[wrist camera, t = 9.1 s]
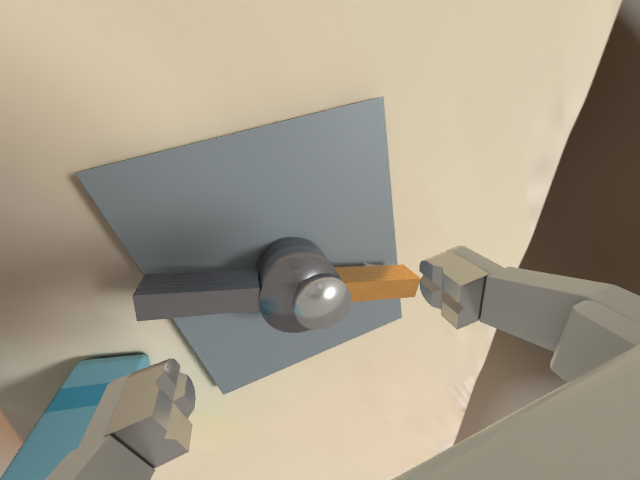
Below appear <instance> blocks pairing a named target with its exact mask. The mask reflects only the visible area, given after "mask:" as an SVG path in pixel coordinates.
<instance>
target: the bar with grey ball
mask: <svg viewBox="0 0 640 480" xmlns="http://www.w3.org/2000/svg"><path fill="white" fill-rule="evenodd" d="M420 279H421V278H419V277H418V276H417V275H416V274H414V273H413V272H412V271H411V270H409V269H408V268H407V267H406V266H404V265H382V266H354V267H333V265H332V264H331V263H330V261H329V260H328V259H327V257H326V256H325V254H324V253H323V252H322V250H321V249H320V248H319V247H318V246H317V245H316V244H315V243H314V242H312V241H310V240H308V239H305V238H299V237H291V238H285V239H282V240H279V241H277V242H275V243H273V244H272V245H270V246H269V247H268V248H267V249H266V250H264V252H263V253H262V254H261V256H260V257H259V259H258V261H257V264H256V267H255V270H242V271H214V272H185V273H157V274H145V276H144V277H143V279H142V281H141V282H140V284H139V286H138V287H137V289H136V291H135V293H134V294H133V300H134V306H135V312H136V318H137V321H145V320H156V319H168V318H179V317H190V316H202V315H213V314H225V313H236V312H247V311H259V305H260V311H261V314H262V316H263V318H264V320H265V321H266V322H267V323H268V324H269V325H270V326H271V327H273V328H275V329H277V330H279V331H283V332H288V333H300V332H305V331H309V330H311V329H313V330H320V329H325V328H328V327H331V326H333V325H335V324H336V323H338V322H339V321H340V320H341V319H343V317H344V316H345V315H346V314H347V312H348V310H349V308H350V305H351V302H361V301H373V300H384V299H395V298H407V297H415V294H416V291H417V288H418V285H419V282H420Z"/></svg>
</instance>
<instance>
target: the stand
mask: <svg viewBox="0 0 640 480" xmlns="http://www.w3.org/2000/svg"><path fill="white" fill-rule="evenodd" d="M75 174H76V176H77V177H78V179H79V180H80V181H81V183H82V184H83V186H84V187H85V189H86V190H87V192H88V193H89V195H90V196H91V198H92V199H93V201H94V202H95V204H96V205H97V207H98V208H99V210H100V211H101V213H102V214H103V216H104V217H105V219H106V220H107V222H108V223H109V225H110V226H111V228H112V229H113V231H114V232H115V234H116V235H117V237H118V238H119V240H120V241H121V243H122V244H123V246H124V247H125V249H126V250H127V252H128V253H129V255H130V256H131V258H132V259H133V261H134V262H135V263H136V265H137V266H138V268H139V269H140V271H141V272H142V274H143V275H144V276H145V274H157V273H185V272H214V271H242V270H255V267H256V264H257V261H258V259H259V257H260V256H261V254H262V253H263V252H264V250H266V249H267V248H268V247H269V246H270V245H272V244H273V243H275V242H277V241H279V240H282V239H285V238H291V237H299V238H305V239H308V240H310V241H312V242H314V243H315V244H316V245H317V246H318V247H319V248H320V249H321V250H322V252H323V253H324V254H325V256H326V257H327V259H328V260H329V261H330V263H331V264H332V265H333V267H354V266H382V265H397V255H396V243H395V231H394V219H393V207H392V195H391V183H390V171H389V159H388V146H387V134H386V122H385V110H384V98H383V97H378V98H373V99H369V100H365V101H361V102H357V103H353V104H349V105H345V106H341V107H337V108H333V109H329V110H325V111H321V112H317V113H313V114H309V115H305V116H301V117H297V118H293V119H289V120H285V121H281V122H277V123H273V124H269V125H265V126H260V127H256V128H252V129H248V130H244V131H240V132H236V133H232V134H228V135H224V136H220V137H216V138H212V139H208V140H204V141H200V142H196V143H192V144H188V145H184V146H180V147H176V148H172V149H168V150H164V151H160V152H156V153H152V154H148V155H144V156H140V157H136V158H132V159H128V160H124V161H119V162H115V163H111V164H107V165H103V166H99V167H95V168H91V169H87V170H84V171H81V172H77V173H75ZM399 318H402V315H401V303H400V298H395V299H384V300H373V301H361V302H351V305H350V308H349V310H348V312H347V314H346V315H345V316H344V317H343V319H341V320H340V321H339V322H338V323H336V324H335V325H333V326H331V327H328V328H325V329H320V330H313V329H311V330H309V331H305V332H300V333H288V332H283V331H279V330H277V329H275V328H273V327H271V326H270V325H269V324H268V323H267V322H266V321H265V320H264V318H263V316H262V314H261V311H260V305H259V311H247V312H236V313H225V314H213V315H202V316H190V317H179V318H172V319H173V320H174V322H175V323H176V325H177V326H178V328H179V329H180V331H181V332H182V334H183V335H184V337H185V338H186V340H187V341H188V343H189V344H190V346H191V347H192V348H193V350H194V351H195V353H196V354H197V356H198V357H199V359H200V360H201V362H202V363H203V365H204V366H205V368H206V369H207V371H208V372H209V374H210V375H211V377H212V378H213V380H214V381H215V383H216V384H217V386H218V387H219V389H220V390H221V392H222V393H223V395H224V394H227V393H229V392H231V391H233V390H236V389H238V388H240V387H243V386H245V385H247V384H250V383H252V382H254V381H257V380H259V379H261V378H263V377H266V376H268V375H270V374H273V373H275V372H277V371H280V370H282V369H284V368H286V367H289V366H291V365H293V364H296V363H298V362H300V361H303V360H305V359H307V358H310V357H312V356H314V355H316V354H319V353H321V352H323V351H326V350H328V349H330V348H333V347H335V346H337V345H339V344H342V343H344V342H346V341H349V340H351V339H353V338H356V337H358V336H360V335H363V334H365V333H367V332H369V331H372V330H374V329H376V328H379V327H381V326H383V325H386V324H388V323H390V322H393V321H395V320H397V319H399Z"/></svg>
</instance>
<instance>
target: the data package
mask: <svg viewBox="0 0 640 480" xmlns="http://www.w3.org/2000/svg"><path fill="white" fill-rule="evenodd" d="M149 366H150V362H149V357H148V356H147V355H146V354H141V355H131V356H121V357H110V358H100V359H89V360H83V361H81V362H79V363H78V364H77V365H76V366H75V367H74V368H73V369H72V371H71V372H70V374H69V375H68V377H67V379H66V380H65V382H64V383H63V385H62V386H61V388H60V389H59V391H58V392H57V394H56V395H55V397H54V398H53V400H52V401H51V403H50V404H49V406H48V407H47V409H46V410H45V412H44V413H43V415H42V416H41V418H40V419H39V421H38V422H37V424H36V425H35V427H34V428H33V430H32V431H31V433H30V434H29V436H28V437H27V439H26V441H25V442H24V444H23V445H22V447H21V448H20V450H19V451H18V453H17V454H16V456H15V457H14V459H13V460H12V462H11V463H10V465H9V466H8V468H7V469H6V471H5V472H4V474H3V476H2V477H1V478H0V480H45V479H46V478H47V477H48V476H49V475H50V474H51V472H52V471H53V470H54V469H55V468H56V467H57V466H58V465H59V464H60V463H61V461H62V460H63V459H64V458H65V457H66V456H67V455H68V454H69V453H70V452H71V451H73V450H75V449H78V447H79V445H80V443H81V440H82V438H83V436H84V434H85V432H86V430H87V428H88V426H89V423H90V421H91V419H92V417H93V415H94V413H95V411H96V408H97V406H98V404H99V402H100V400H101V398H102V396H103V394H104V391H105V389H106V387H107V385H108V384H109V383H110V382H111V381H113V380H114V379H117V378H119V377H122V376H125V375H128V374H131V373H133V372H135V371H138V370H140V369H143V368H146V367H149Z"/></svg>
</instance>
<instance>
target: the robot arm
mask: <svg viewBox="0 0 640 480" xmlns="http://www.w3.org/2000/svg"><path fill="white" fill-rule="evenodd" d="M420 272H421V273H422V274H423V276H422V278H421V280H420V290H421V292H422V295H423V297H424V298H425V299H426V301H427V302H428V303H429V304H430V305H431V306H433V307H436V308H439V309H441V315H442V316H443V317H444V318H445V319H446V320H447V321H448V322H449V323H450V324H451V325H453V326H454V327H455V328H456V329H459V328H462V327H464V326H467V325H469V324H471V323H474V322H476V321H479V320H480V322H482V323H485V324H487V325H490V326H492V327H495V328H497V329H500V330H502V331H505V332H507V333H510V334H512V335H515V336H517V337H519V338H522V339H524V340H527V341H529V342H532V343H534V344H536V345H539V346H541V347H544V348H546V349H549V350H551V351H554V352H555V353H554V355H553V358H552V360H551V363H550V367H551V370H552V371H554V372H555V373H556V374H557V375H559V376H560V377H561V378H563V379H564V380H565V381H566V382H567V384H565V385H563V386H561V387H559V388H558V389H556V390H554V391H552V392H550V393H549V394H547V395H545V396H543V397H541V398H539V399H538V400H536V401H534V402H532V403H531V404H528V405H527V406H525V407H523V408H521V409H519V410H517V411H516V412H514V413H512V414H510V415H508V416H507V417H505V418H503V419H501V420H499V421H497V422H496V423H494V424H492V425H490V426H488V427H487V428H485V429H483V430H481V431H479V432H478V433H476V434H474V435H472V436H470V437H468V438H467V439H465V440H463V441H461V442H459V443H457V444H456V445H454V446H452V447H450V448H448V449H447V450H445V451H443V452H441V453H439V454H437V455H436V456H434V457H432V458H430V459H428V460H427V461H425V462H423V463H421V464H419V465H417V466H416V467H414V468H412V469H410V470H408V471H407V472H405V473H403V474H401V475H399V476H397V477H396V478H394V479H392V480H640V296H638V295H636V294H634V293H631V292H629V291H627V290H624V289H622V288H620V287H618V286H615V285H612V284H606V283H600V282H594V281H588V280H582V279H577V278H571V277H565V276H559V275H554V274H547V273H542V272H536V271H531V270H524V269H519V268H513V267H507V268H503V267H501V266H500V265H498V264H496V263H494V262H492V261H490V260H489V259H487V258H485V257H483V256H481V255H479V254H478V253H476V252H474V251H472V250H470V249H468V248H467V247H465V246H457V247H455V248H452V249H450V250H447V251H446V252H443V253H440V254H438V255H435V256H433V257H430V258H428V259H425V260H423V261H421V263H420ZM179 369H180V365H179V364H178V363H177V361H176V360H175V359H168V360H165V361H162V362H160V363H157V364H154V365H151V366H149V367H146V368H143V369H140V370H138V371H135V372H133V373H131V374H128V375H125V376H122V377H119V378H117V379H114V380H113V381H111V382H110V383H109V384H108V385H107V387H106V389H105V391H104V394H103V396H102V398H101V400H100V402H99V404H98V406H97V408H96V411H95V413H94V415H93V417H92V419H91V421H90V423H89V426H88V428H87V430H86V432H85V434H84V436H83V438H82V440H81V443H80V445H79V447H78V449H75V450H73V451H71V452H70V453H69V454H68V455H67V456H66V457H65V458H64V459H63V460H62V461H61V463H60V464H59V465H58V466H57V467H56V468H55V469H54V470H53V471H52V472H51V474H50V475H49V476H48V477H47V478H46V479H45V480H150V479H151V477H152V475H153V473H154V471H155V470H154V468H156V467H159V466H161V465H163V464H165V463H167V462H169V461H171V460H173V459H175V458H177V457H179V456H181V455H183V454H185V453H187V452H189V446H190V438H191V431H192V424H191V422H190V421H189V420H188V417H189V416H190V414H191V413H192V411H193V409H194V407H195V390H194V385H193V383H192V381H191V379H190V378H189V376H188V375H186V374H182V373H179Z"/></svg>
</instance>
